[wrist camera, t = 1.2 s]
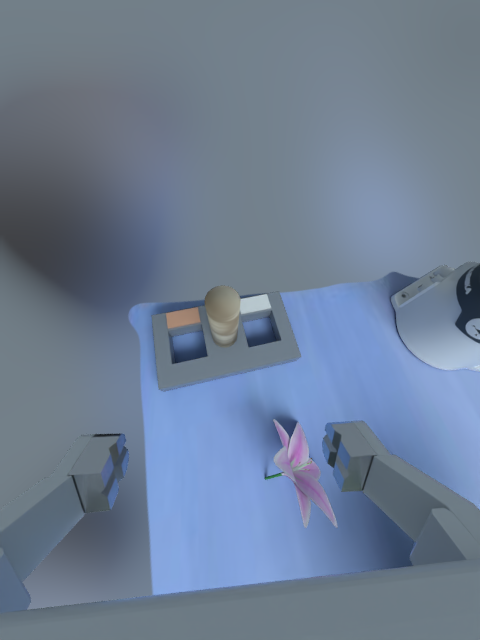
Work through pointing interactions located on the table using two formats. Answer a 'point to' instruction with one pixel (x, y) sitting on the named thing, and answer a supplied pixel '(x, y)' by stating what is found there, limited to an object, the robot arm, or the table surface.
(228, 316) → the peg
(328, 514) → the lily
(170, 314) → the socket deck
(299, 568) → the table surface
